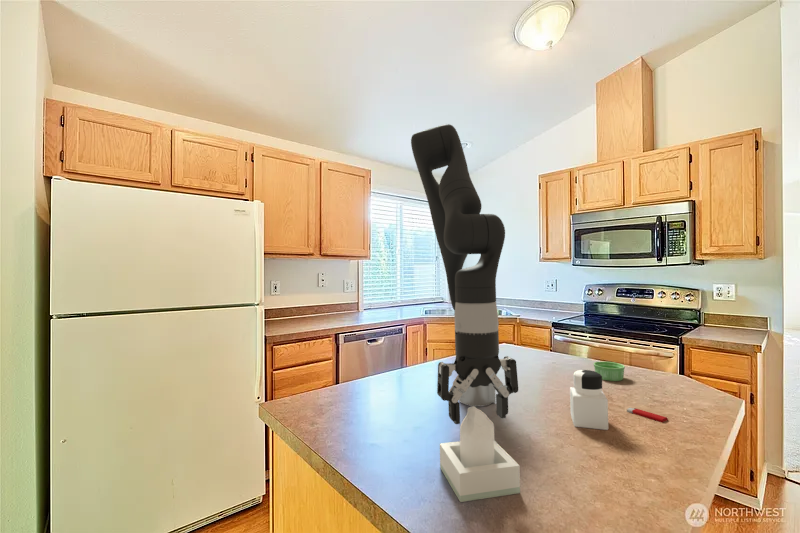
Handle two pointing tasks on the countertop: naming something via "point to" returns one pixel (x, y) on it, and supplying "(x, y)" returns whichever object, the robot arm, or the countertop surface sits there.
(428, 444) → the countertop surface
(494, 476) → the socket
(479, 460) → the roll
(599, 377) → the medicine bottle
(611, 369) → the ramekin
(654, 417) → the lighter
